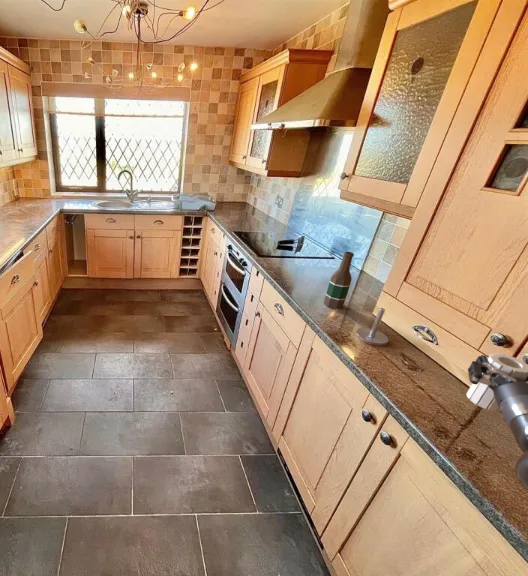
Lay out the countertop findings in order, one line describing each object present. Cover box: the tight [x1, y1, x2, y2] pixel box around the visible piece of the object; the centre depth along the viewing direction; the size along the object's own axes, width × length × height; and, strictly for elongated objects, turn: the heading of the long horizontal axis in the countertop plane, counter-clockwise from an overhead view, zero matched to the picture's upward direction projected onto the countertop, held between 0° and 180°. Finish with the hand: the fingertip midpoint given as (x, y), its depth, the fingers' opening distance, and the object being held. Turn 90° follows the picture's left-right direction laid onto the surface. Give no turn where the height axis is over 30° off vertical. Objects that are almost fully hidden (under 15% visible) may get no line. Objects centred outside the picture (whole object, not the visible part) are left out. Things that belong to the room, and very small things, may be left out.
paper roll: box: [465, 352, 528, 413], centre depth 72 cm, size 6×6×12 cm
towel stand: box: [355, 307, 389, 347], centre depth 109 cm, size 10×10×12 cm
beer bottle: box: [323, 251, 355, 310], centre depth 127 cm, size 8×8×24 cm
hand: (502, 363), depth 72 cm, fingers closed on paper roll, 6 cm apart
